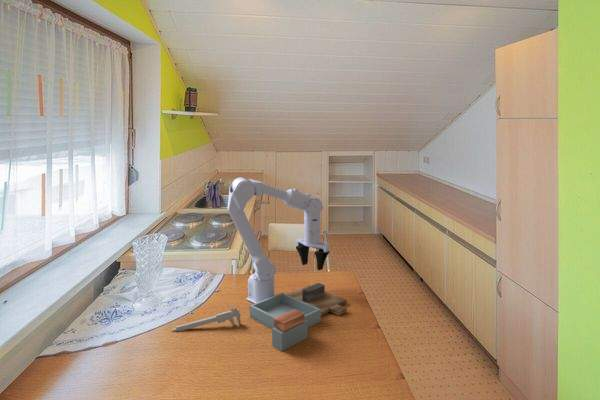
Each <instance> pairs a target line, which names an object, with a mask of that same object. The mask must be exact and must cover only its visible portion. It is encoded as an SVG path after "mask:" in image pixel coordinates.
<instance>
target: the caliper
mask: <svg viewBox="0 0 600 400" xmlns="http://www.w3.org/2000/svg"><path fill="white" fill-rule="evenodd" d="M230 309H231V310H228V311H224V312H223V311H222V312H220V313H217V314H216V315H214V316H211V317H206V318H203V319H198V320H195V321H194V320H193V321H190V322H187V323H184V324H180V325H176V326H175V327H174V328H172V331H171V332H181V331H186V330H190V329H194V328H196V327H200V326H201V327H202V326H204V325H209V324H212V323H216V322H217V323H218V324H221V323H224V322H226V321H227V320H228V321H229V322H230V324H231V325H232V326H233V327H235V326H236V324H235V319H234V318H236V320H237V324H238V326H240V325H241V322H242V321H241V313H240V311H239V308H236V306H234V307H232V306H230Z"/></svg>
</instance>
